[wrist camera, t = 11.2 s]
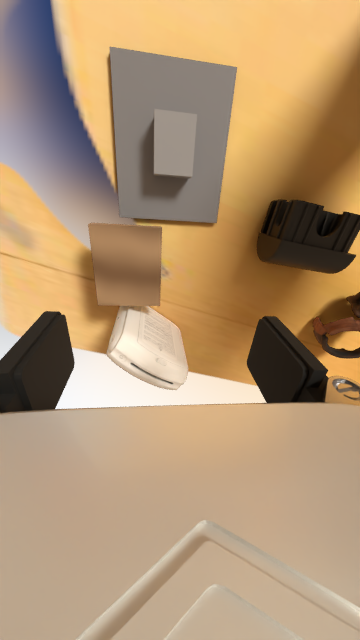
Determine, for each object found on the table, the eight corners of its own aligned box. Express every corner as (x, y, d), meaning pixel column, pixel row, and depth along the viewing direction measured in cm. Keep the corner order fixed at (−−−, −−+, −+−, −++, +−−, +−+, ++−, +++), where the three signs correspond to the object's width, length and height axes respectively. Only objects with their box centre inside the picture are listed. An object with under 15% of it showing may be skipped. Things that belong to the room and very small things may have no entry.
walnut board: (91, 222, 24) (88, 224, 22) (161, 226, 25) (161, 228, 23) (100, 300, 28) (97, 305, 27) (159, 301, 29) (159, 305, 28)
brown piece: (359, 331, 42) (370, 367, 36) (304, 322, 44) (306, 355, 39) (398, 277, 33) (419, 313, 28) (327, 270, 36) (334, 302, 31)
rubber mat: (110, 50, 21) (104, 27, 18) (235, 70, 22) (247, 52, 19) (120, 216, 27) (116, 218, 24) (215, 222, 29) (222, 225, 26)
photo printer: (112, 313, 33) (95, 368, 23) (128, 291, 32) (118, 339, 21) (167, 345, 37) (174, 405, 27) (183, 327, 36) (198, 382, 25)
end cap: (249, 254, 32) (272, 267, 26) (267, 198, 28) (298, 199, 23) (310, 265, 34) (343, 280, 28) (333, 214, 30) (378, 218, 24)
